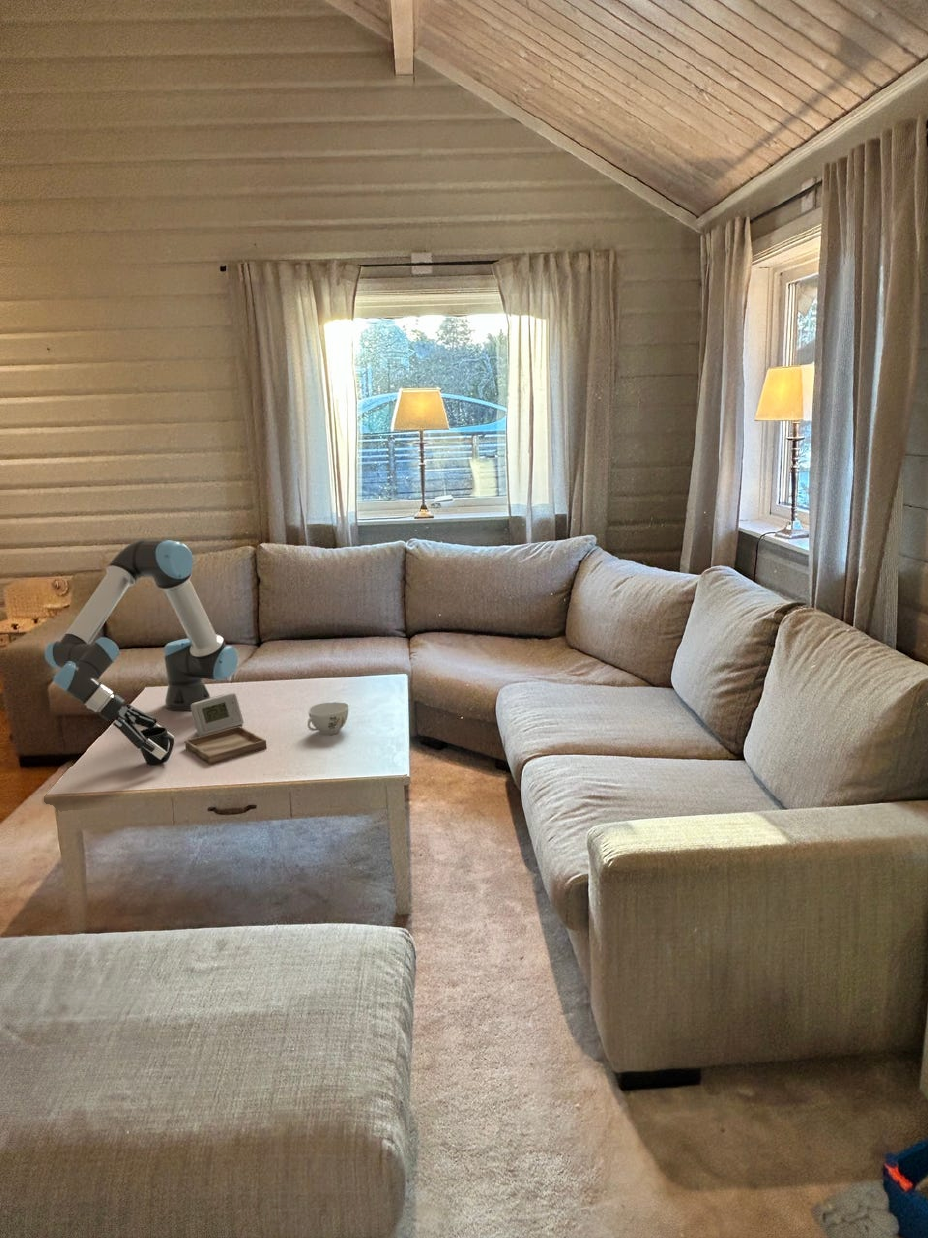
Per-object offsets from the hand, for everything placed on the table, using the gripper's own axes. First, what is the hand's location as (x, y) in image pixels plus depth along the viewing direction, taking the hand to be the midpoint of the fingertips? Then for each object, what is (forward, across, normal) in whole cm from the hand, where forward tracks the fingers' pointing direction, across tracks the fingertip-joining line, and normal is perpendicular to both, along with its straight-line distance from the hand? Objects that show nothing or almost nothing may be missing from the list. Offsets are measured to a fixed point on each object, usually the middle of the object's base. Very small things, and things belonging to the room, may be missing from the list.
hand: (167, 747), depth 260 cm
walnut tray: (+14, -7, +8) cm, 18 cm away
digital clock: (+12, -25, +5) cm, 28 cm away
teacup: (+36, -12, +29) cm, 48 cm away
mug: (+2, 0, -5) cm, 5 cm away
